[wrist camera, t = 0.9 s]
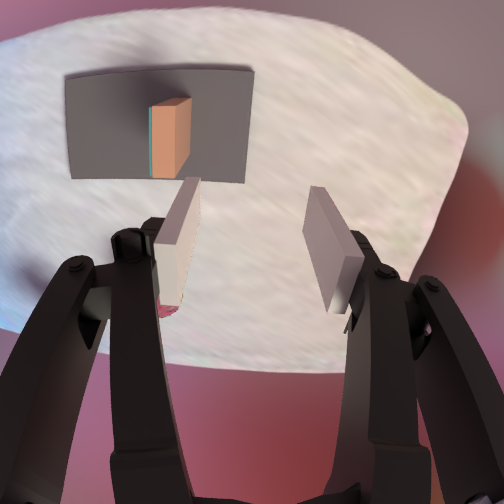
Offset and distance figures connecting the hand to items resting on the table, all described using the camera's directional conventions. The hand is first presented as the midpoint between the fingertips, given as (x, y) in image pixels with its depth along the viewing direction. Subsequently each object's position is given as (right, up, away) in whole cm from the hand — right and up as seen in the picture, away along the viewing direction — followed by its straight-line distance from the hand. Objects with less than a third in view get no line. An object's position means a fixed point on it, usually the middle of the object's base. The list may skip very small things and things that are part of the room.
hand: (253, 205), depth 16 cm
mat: (-12, +13, +18) cm, 26 cm away
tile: (-8, +12, +18) cm, 23 cm away
